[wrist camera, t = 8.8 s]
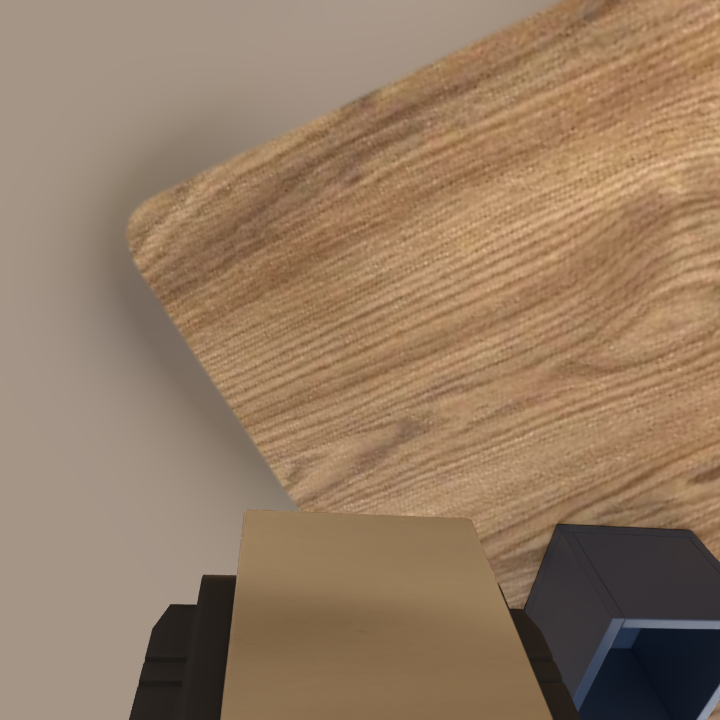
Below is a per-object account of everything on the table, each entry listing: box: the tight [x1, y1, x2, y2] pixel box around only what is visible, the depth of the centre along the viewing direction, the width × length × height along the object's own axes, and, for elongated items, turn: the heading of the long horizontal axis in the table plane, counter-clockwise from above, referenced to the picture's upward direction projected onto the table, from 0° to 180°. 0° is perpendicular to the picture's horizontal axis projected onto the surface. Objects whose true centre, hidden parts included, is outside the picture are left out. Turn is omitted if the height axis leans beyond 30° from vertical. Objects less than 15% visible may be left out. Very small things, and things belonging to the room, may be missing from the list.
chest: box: [524, 524, 720, 720], centre depth 39 cm, size 13×11×8 cm
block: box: [220, 510, 553, 720], centre depth 10 cm, size 4×4×4 cm
